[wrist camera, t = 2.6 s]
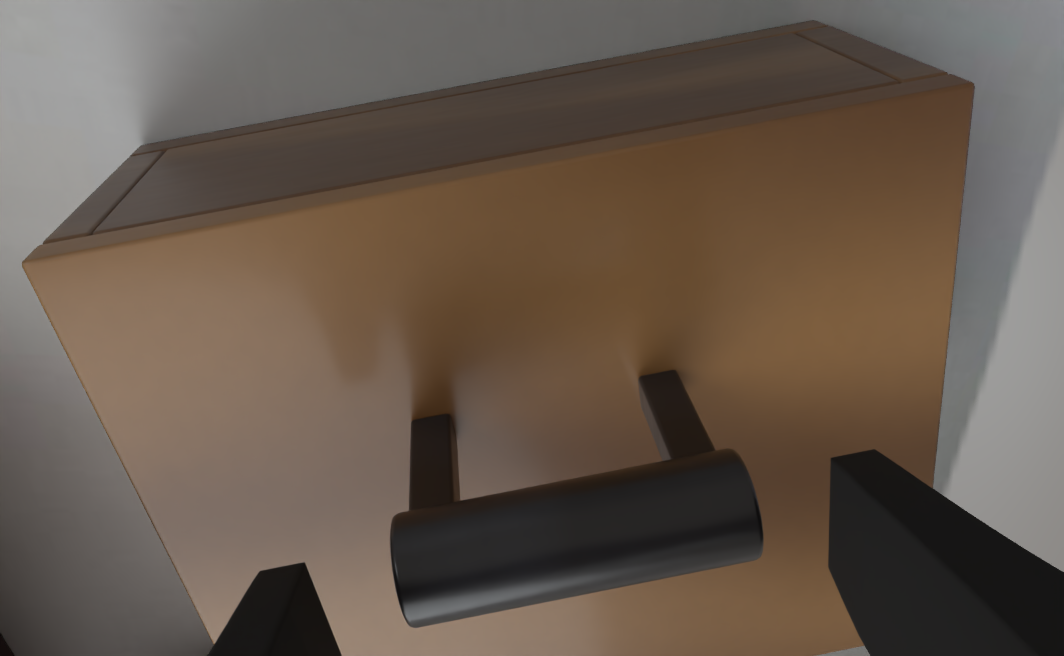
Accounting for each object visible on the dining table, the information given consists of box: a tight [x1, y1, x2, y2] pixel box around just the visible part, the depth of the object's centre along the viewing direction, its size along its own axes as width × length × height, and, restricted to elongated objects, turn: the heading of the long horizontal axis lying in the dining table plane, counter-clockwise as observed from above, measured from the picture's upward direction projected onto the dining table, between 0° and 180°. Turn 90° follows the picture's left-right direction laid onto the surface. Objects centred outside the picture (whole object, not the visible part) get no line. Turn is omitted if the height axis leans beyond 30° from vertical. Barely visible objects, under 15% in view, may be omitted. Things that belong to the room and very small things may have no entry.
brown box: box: [22, 74, 975, 656], centre depth 14 cm, size 12×15×5 cm
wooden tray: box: [43, 20, 948, 244], centre depth 18 cm, size 12×15×5 cm
